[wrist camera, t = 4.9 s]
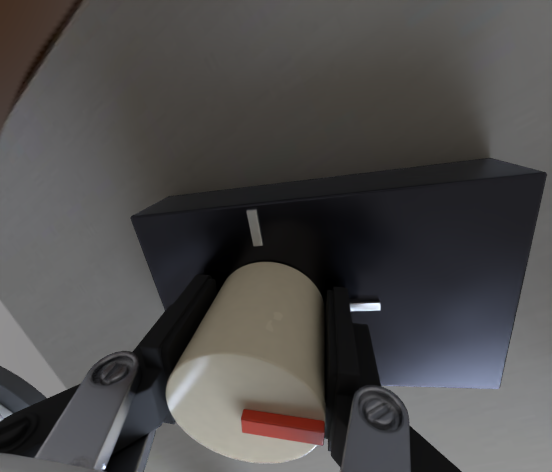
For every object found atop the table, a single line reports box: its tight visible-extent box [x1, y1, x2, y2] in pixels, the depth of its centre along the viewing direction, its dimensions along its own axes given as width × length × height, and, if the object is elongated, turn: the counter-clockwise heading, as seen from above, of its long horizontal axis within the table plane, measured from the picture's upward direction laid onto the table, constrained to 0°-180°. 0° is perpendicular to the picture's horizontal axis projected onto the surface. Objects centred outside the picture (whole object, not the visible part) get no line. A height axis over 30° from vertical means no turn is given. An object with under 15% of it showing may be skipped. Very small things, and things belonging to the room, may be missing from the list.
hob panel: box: [131, 158, 547, 389], centre depth 12 cm, size 14×9×3 cm, turn 99°
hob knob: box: [166, 262, 326, 464], centre depth 9 cm, size 4×4×5 cm
